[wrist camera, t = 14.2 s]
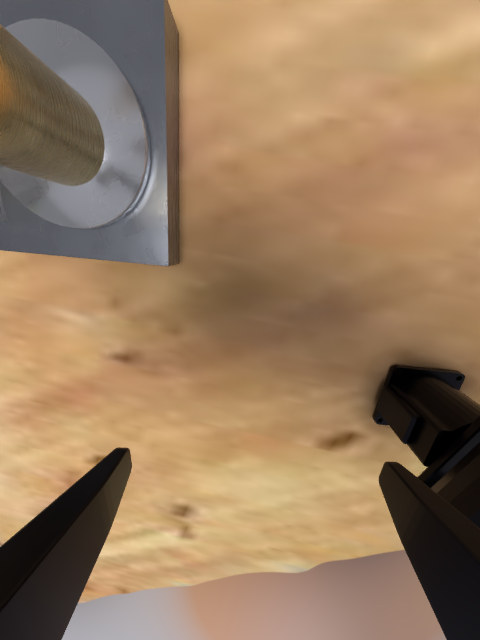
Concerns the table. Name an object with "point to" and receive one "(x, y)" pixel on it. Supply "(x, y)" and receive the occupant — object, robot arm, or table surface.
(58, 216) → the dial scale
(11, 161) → the brass weight
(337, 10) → the table surface
